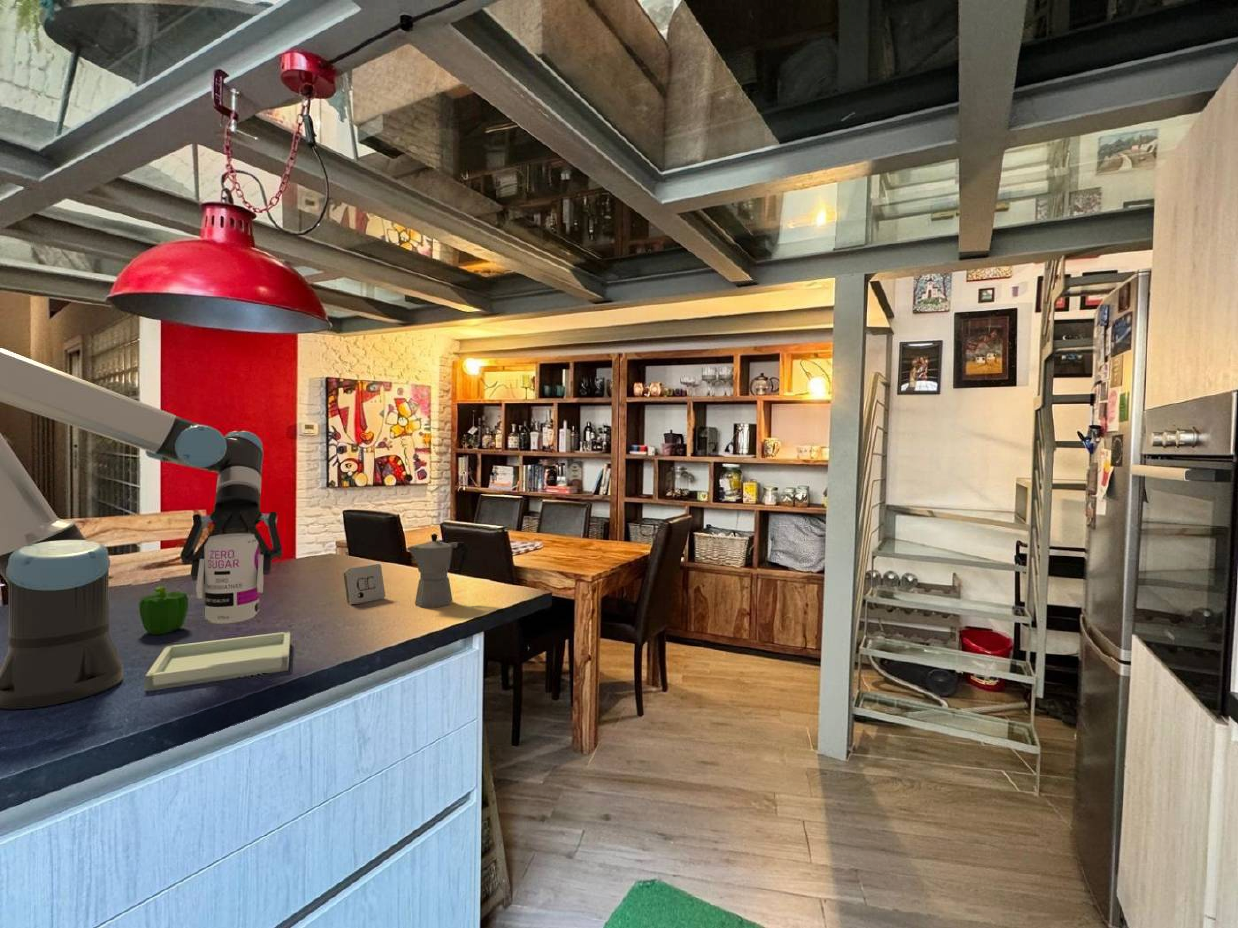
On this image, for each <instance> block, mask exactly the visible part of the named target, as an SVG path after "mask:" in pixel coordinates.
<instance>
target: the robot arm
mask: <svg viewBox="0 0 1238 928" xmlns="http://www.w3.org/2000/svg"><path fill="white" fill-rule="evenodd" d="M0 403H4V404H6V405H10V406H13V407H15V408H18V409H22V410H24V411H26V412H30V413H33V414H36V415H39V416H43V417H45V418H48V419H51V420H54V421H56V422H60V423H63V424H66V425H68V426H71V427H74V428H78V429H80V430H83V431H85V432H89V433H93V434H96V435H98V436H102V437H104V438H107V439H111V440H114V441H116V442H119V443H122V444H126V445H129V446H130V447H134V448H137V449H140V450H143V451H145V455H146V456H147V457H148V458H150V459H154V460H159V461H161V462H163V463H171V464H175V465H180V466H184V467H190V468H195V469H199V470H205V471H207V472H213V473H217V481H216V488H215V489H216V490H215V492H216V493H215V498H214V499H215V500H214V506H213V507H214V508H213V511H212V512H211V513H210V514H209V515H203V516H201V514H199V513H197V514H196V513H195V514H193V515H192V523H193V525H192V527H191V529H190V531H189V533H188V535H187V538H186V541H185V543H184V544H183V548H182V549H181V553H180V559H181V563H182V565H184V566H186V565H187V566H188V565H191V569H190V577H191V580H192V581H195V582H196V586H195V593H196V597H197V599H203V598H204V595H205V562H204V546H205V544H206V543H207V541H208V539H209V538H208V537H211V536H216V535H223V534H237V533H247V534H254V535H255V538H256V539H257V541H258V543H259V558H258V577H257V589H258V593H259V594H260V593H263V592H264V576H267V575H269V576H270V574H271V570H272V561H273V559H281V558H283V547H282V543H281V540H280V534H279V531H278V527H277V523H278V513H277V512H276V511H271V512H270V513H263V512H262V510H261V509H260V508H261V493H262V472H263V471H262V470H263V460H264V448H263V441H262V440H261V438H260V437H258V435H256V433H253V432H250V431H247V430H242V431H238V430H234V431H230V432H228V433H227V434H226V435H225V436H224V434H222V433H221V432H220V431H219V430H217V428H214V427H212V426H210V425H207V424H199V423H197V422H193V421H190V420H188V419H185V418H184V417H180V416H177V415H175V414H173V413H170V412H168V411H165V410H162V409H161V408H157V407H155V406H152V405H149V404H147V403H144V402H142V401H139V400H136V399H135V398H134V399H133V398H131V397H129V396H126V395H123V394H121V393H118V392H116V391H113V390H111V389H108V388H106V387H102V386H100V385H98V384H95V383H92V382H90V381H87V380H84V379H83V378H79V377H77V376H75V375H73V374H68V373H66V372H64V371H61V370H58V369H56V368H54V367H51V366H48V365H45V364H43V363H40V362H38V361H34V360H33V359H30V358H27V357H25V356H22V355H20V354H17V353H14V352H12V351H9V350H7V349H4V348H1V347H0ZM261 521H262V522H264V524H265V525H266V526H267V527H268V533H269V537H270V541H271V545H272V548H270V547H269V546H268V545H267V543H266V541H265V539H264V538H263V537H262V535H261V534H260V532H259V530H258V529H257V525H258V524H260V522H261ZM75 523H76V522H74V521H73V520H68V519H64V518H59V517H58V516H57V515H56V512H55V511H53V509H52V507H51V506H50V504H49V503H48V501H47V500H46V498H45V497H44V496H43V494H42V492H41V491H40V490H39V488H38V486H37V485H36V483H35V482H34V480H33V479H32V478H31V476H30V475H29V473H28V472H27V471H26V469H25V467H24V466H23V464H22V462H21V461H20V459H19V458H18V456H17V455H16V453H15V452H14V451H13V449H12V448H11V446H10V444H9V443H8V442H7V441H6V439H5V438H4V436H3V435H2V433H1V432H0V576H2V578H3V580H5V582H6V583H7V586H8V587H7V591H8V592H7V593H8V594H7V595H8V597H7V599H8V600H7V603H8V604H7V605H8V608H7V609H8V610H7V611H8V620H7V621H8V651H7V654H6V656H5V658H4V661H3V663H2V666H1V668H0V709H4V710H5V709H6V710H24V709H25V710H26V709H36V708H42V707H49V706H54V705H59V704H63V703H64V704H65V703H68V702H69V703H70V702H74V701H77V700H80V699H83V698H87V697H90V696H94V695H97V694H98V693H102V692H104V691H106V690H108V689H111V688H112V687H114V686H116V685H118V684H119V683H120V682H121V681H122V680H123V678H124V665H123V662H122V660H121V657H120V655H119V654H118V651H117V649H116V647H115V644H114V642H113V640H112V638H111V636H110V615H109V614H110V605H109V604H110V603H109V602H110V601H109V600H110V599H109V598H110V595H109V593H110V592H109V590H110V588H109V587H110V585H109V584H110V583H109V581H110V579H109V578H110V577H109V571H110V570H109V569H110V567H111V559H110V557H109V550H108V548H107V547H106V546H105V545H104V544H102V543H100V542H97V541H88V540H86V538H85V537H84V535H83V533H82V532H81V530H80V529H79V528H78V526H77V525H76V524H75ZM210 523H211V525H212V524H213V526H214V527H213V529H212V530H211V532H210V534H209V535H208V536H207V537H206V538H205V540H204V541H203V542H202V544H201V545H200V546H199V547H198V544H199V542H200V540H201V537H202V535H203V532H204V531H203V530H204V529H206V528H207V527H208V525H209V524H210ZM197 548H198V549H197Z"/></svg>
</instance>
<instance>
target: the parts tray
mask: <svg viewBox="0 0 1238 928" xmlns="http://www.w3.org/2000/svg"><path fill="white" fill-rule="evenodd" d="M290 650H291V631H282V632H275V633H274V632H273V633H267V634H258V635H257V634H255V635H250V636H243V637H242V636H241V637H233V638H224V639H216V640H207V641H200V642H199V641H198V642H193V643H192V642H190V643H183V644H174V645H166V646H164V648H163V650H161V651H162V652H160V655H158V657H157V659H156V660H155V661H154V663H153V664H152V665H151V667H150V669H148V671H147V673H146V674H145V676H144V678H145V679H144V685H145V686H144V690H145V692H151V691H158V690H165V689H171V688H177V687H184V686H191V685H198V684H204V683H213V682H218V681H224V680H225V681H226V680H232V679H238V677H240V678H246V677H252V676H251V675H253V676H258V675H257V674H260V675H263V674H262V673H267V674H271V673H272V674H273V673H280V672H286V671H289V666H290ZM245 676H246V677H245ZM212 681H213V682H212Z"/></svg>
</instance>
